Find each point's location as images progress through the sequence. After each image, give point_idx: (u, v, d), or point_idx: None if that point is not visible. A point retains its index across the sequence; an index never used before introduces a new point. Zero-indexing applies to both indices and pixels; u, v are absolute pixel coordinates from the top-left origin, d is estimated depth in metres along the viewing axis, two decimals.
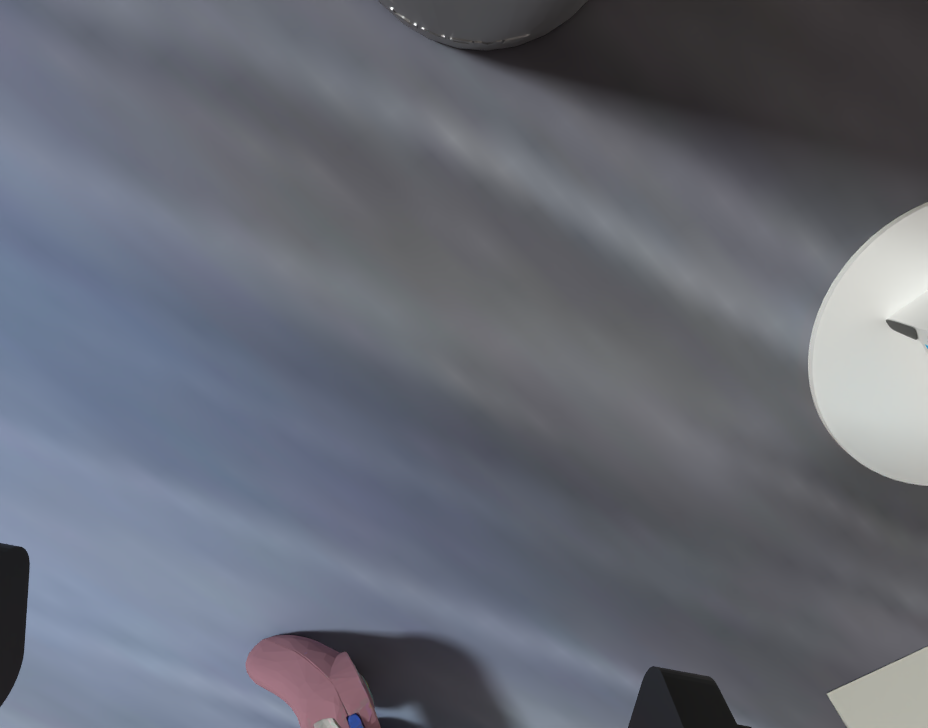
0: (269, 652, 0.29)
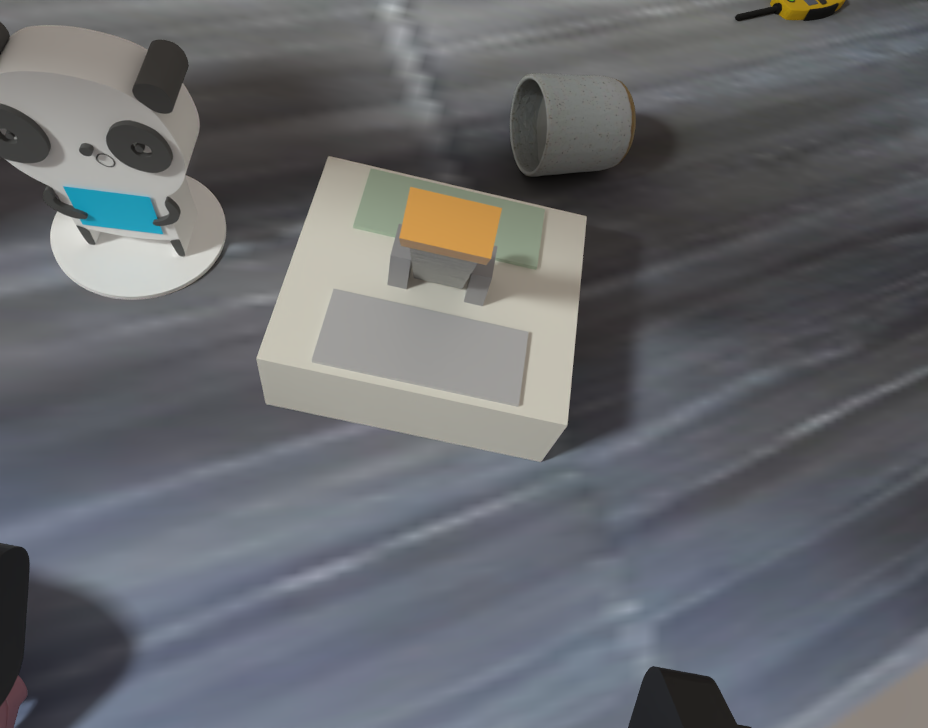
0: None
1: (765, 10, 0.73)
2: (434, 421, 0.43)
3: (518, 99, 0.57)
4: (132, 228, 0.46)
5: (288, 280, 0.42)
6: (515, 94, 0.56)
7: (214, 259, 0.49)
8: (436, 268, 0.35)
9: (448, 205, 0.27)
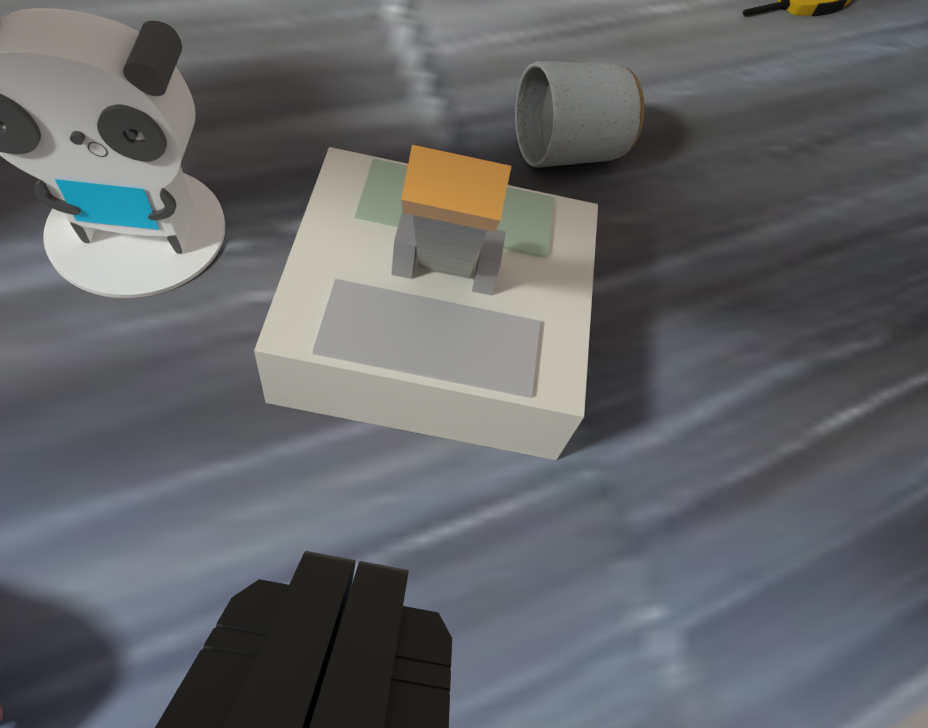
0: None
1: (773, 5, 0.72)
2: (443, 417, 0.40)
3: (523, 90, 0.55)
4: (127, 224, 0.44)
5: (288, 271, 0.40)
6: (520, 85, 0.55)
7: (212, 256, 0.47)
8: (442, 248, 0.33)
9: (453, 164, 0.25)
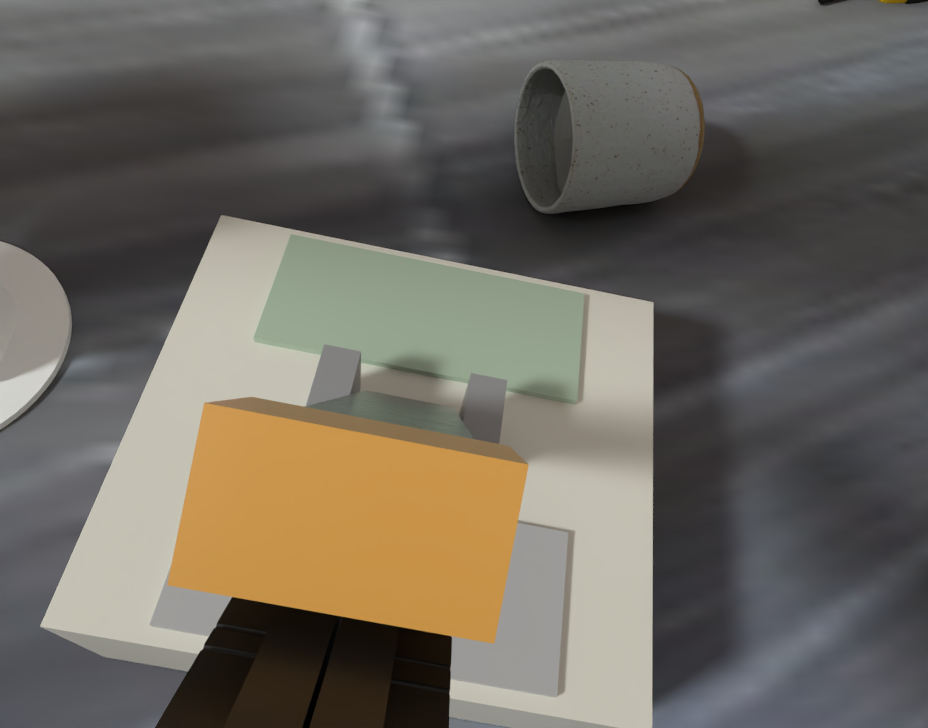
0: None
1: None
2: None
3: (526, 101, 0.38)
4: None
5: (125, 451, 0.23)
6: (521, 93, 0.38)
7: (43, 386, 0.30)
8: None
9: (340, 463, 0.08)
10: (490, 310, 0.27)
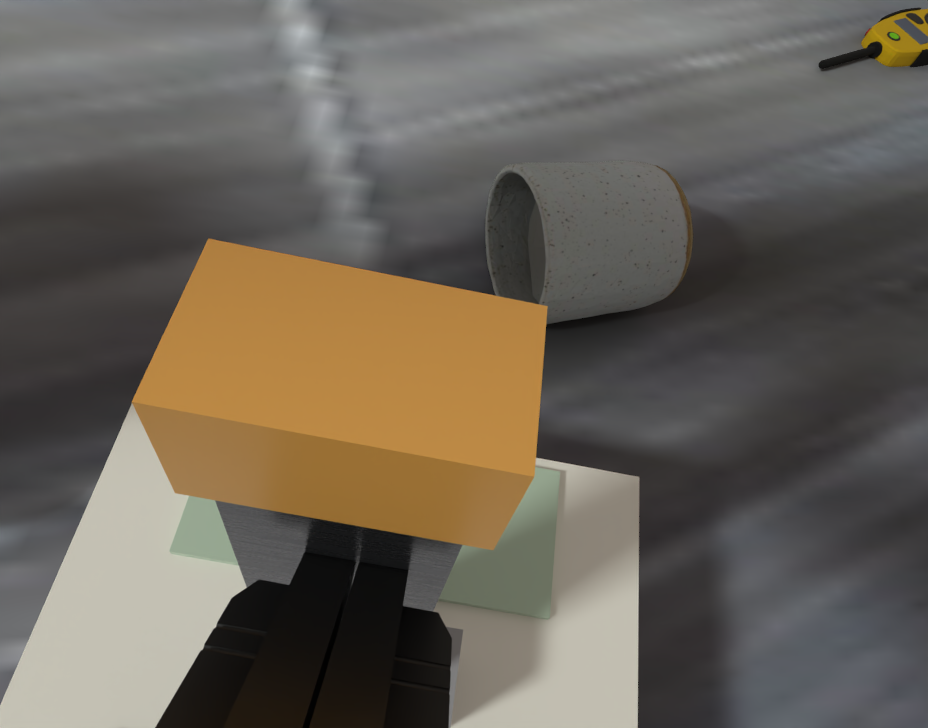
0: None
1: (859, 53, 0.51)
2: None
3: (497, 199, 0.35)
4: None
5: (5, 715, 0.19)
6: (492, 192, 0.34)
7: None
8: None
9: (350, 295, 0.07)
10: None
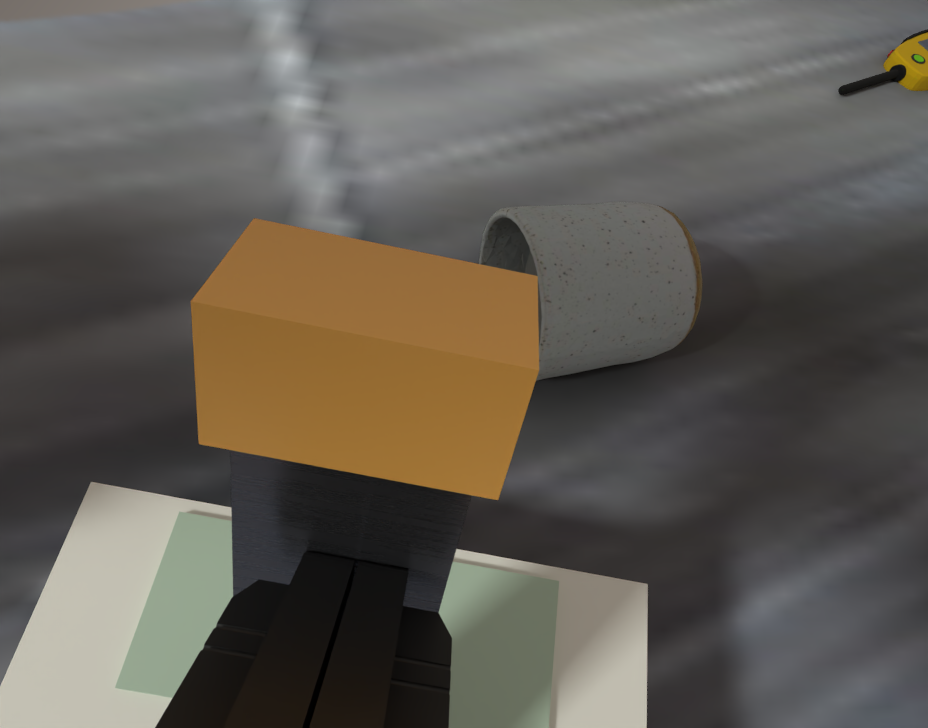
0: None
1: (882, 77, 0.48)
2: None
3: (491, 241, 0.33)
4: None
5: None
6: (485, 234, 0.32)
7: None
8: None
9: (373, 258, 0.08)
10: None
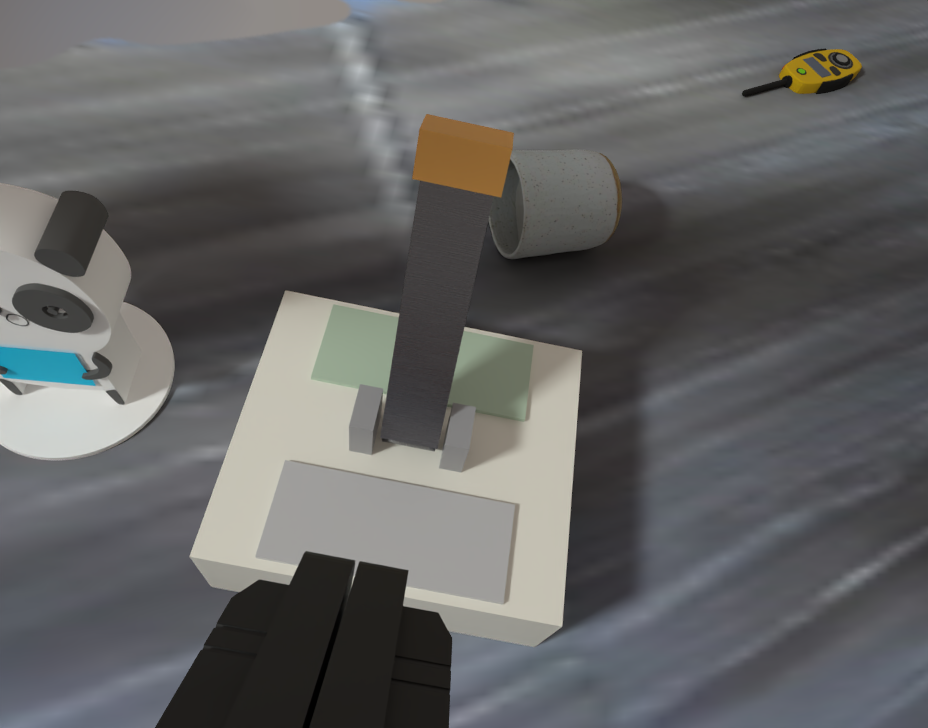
0: None
1: (774, 84, 0.68)
2: None
3: None
4: (60, 380, 0.40)
5: (232, 451, 0.36)
6: None
7: (158, 406, 0.43)
8: (426, 323, 0.32)
9: (463, 125, 0.28)
10: (468, 357, 0.40)
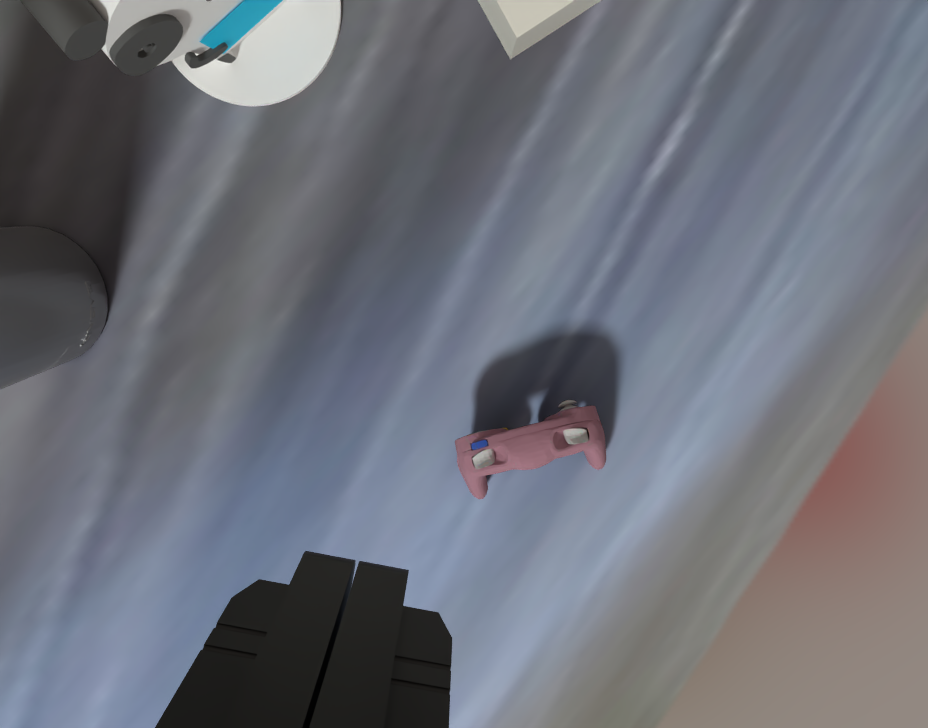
0: None
1: None
2: None
3: None
4: (262, 16, 0.40)
5: None
6: None
7: None
8: None
9: None
10: None
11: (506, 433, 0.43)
